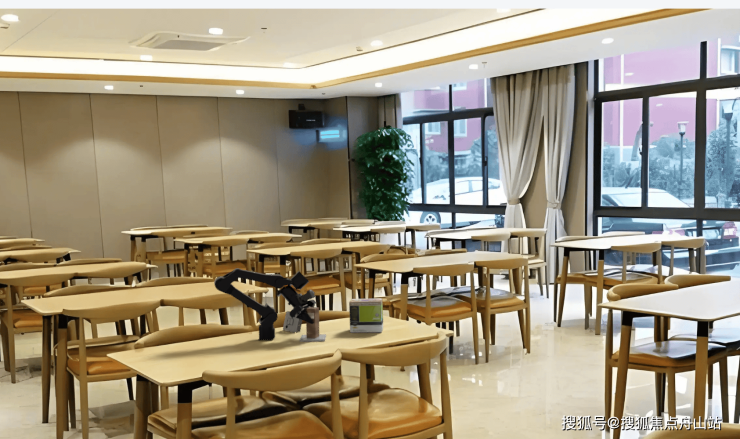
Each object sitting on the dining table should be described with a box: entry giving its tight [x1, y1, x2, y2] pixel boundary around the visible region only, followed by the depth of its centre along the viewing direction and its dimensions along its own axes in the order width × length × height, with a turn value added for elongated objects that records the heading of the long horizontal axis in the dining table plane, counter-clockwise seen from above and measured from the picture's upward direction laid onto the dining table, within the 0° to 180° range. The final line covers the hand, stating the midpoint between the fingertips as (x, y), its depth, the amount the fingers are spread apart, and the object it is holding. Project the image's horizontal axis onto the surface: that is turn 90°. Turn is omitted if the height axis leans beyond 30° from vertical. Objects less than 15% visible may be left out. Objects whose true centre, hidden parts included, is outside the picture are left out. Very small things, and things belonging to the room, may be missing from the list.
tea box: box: [348, 297, 384, 333], centre depth 337 cm, size 15×10×15 cm
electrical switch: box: [282, 310, 303, 333], centre depth 340 cm, size 9×5×9 cm, turn 46°
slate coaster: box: [299, 333, 327, 343], centre depth 321 cm, size 11×11×1 cm
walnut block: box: [305, 306, 320, 338], centre depth 320 cm, size 4×5×13 cm
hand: (315, 322), depth 320 cm, fingers open, 5 cm apart
